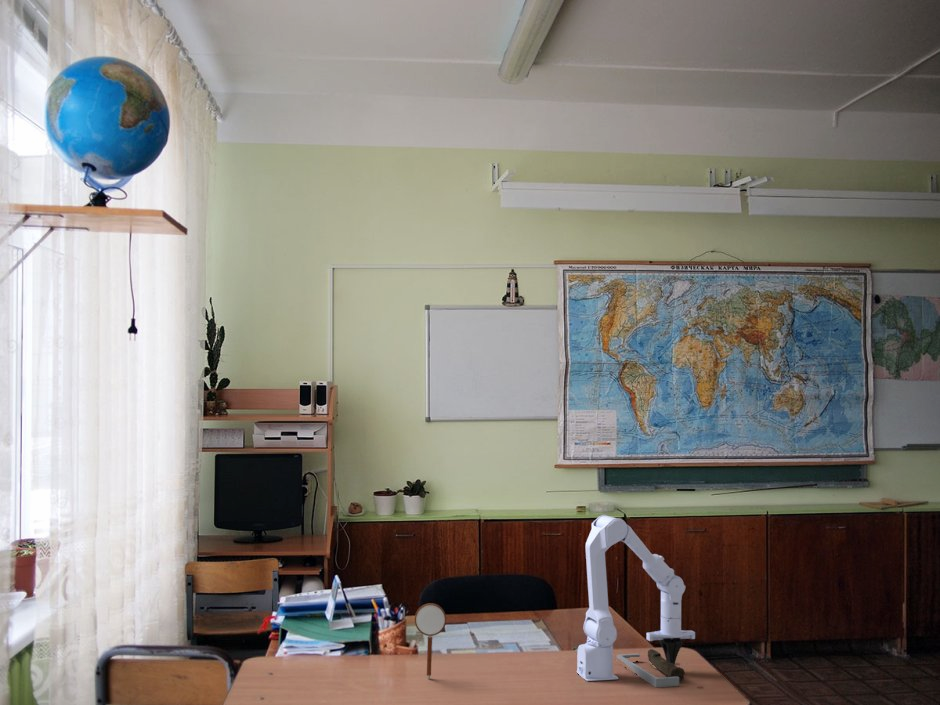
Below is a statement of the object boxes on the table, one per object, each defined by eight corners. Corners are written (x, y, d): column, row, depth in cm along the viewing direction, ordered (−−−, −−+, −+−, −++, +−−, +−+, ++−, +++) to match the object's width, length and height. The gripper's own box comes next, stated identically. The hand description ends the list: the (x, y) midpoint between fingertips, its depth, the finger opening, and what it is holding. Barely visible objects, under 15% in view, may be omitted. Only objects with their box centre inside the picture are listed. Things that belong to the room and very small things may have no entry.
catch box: (655, 687, 221) (655, 678, 221) (616, 662, 244) (616, 654, 244) (679, 685, 223) (679, 677, 223) (637, 661, 246) (638, 653, 246)
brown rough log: (685, 681, 226) (684, 664, 226) (672, 683, 225) (670, 666, 226) (658, 662, 245) (657, 646, 245) (645, 664, 244) (644, 648, 244)
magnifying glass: (444, 678, 224) (446, 603, 226) (444, 680, 223) (446, 604, 225) (413, 677, 225) (415, 602, 226) (412, 679, 223) (414, 603, 225)
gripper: (686, 612, 243) (686, 660, 242) (641, 614, 239) (641, 662, 238) (698, 618, 236) (698, 667, 235) (653, 620, 232) (653, 669, 231)
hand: (670, 665), depth 236 cm, fingers closed
